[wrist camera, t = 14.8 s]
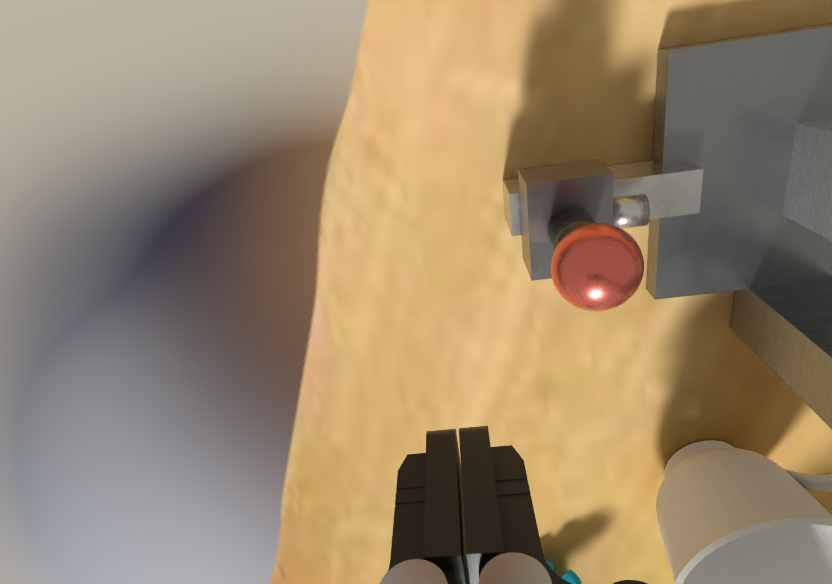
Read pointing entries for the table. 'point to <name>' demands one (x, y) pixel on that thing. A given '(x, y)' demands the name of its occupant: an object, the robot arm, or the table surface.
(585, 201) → the lever
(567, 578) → the gear
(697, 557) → the teacup
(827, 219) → the block
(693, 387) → the table surface
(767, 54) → the press
